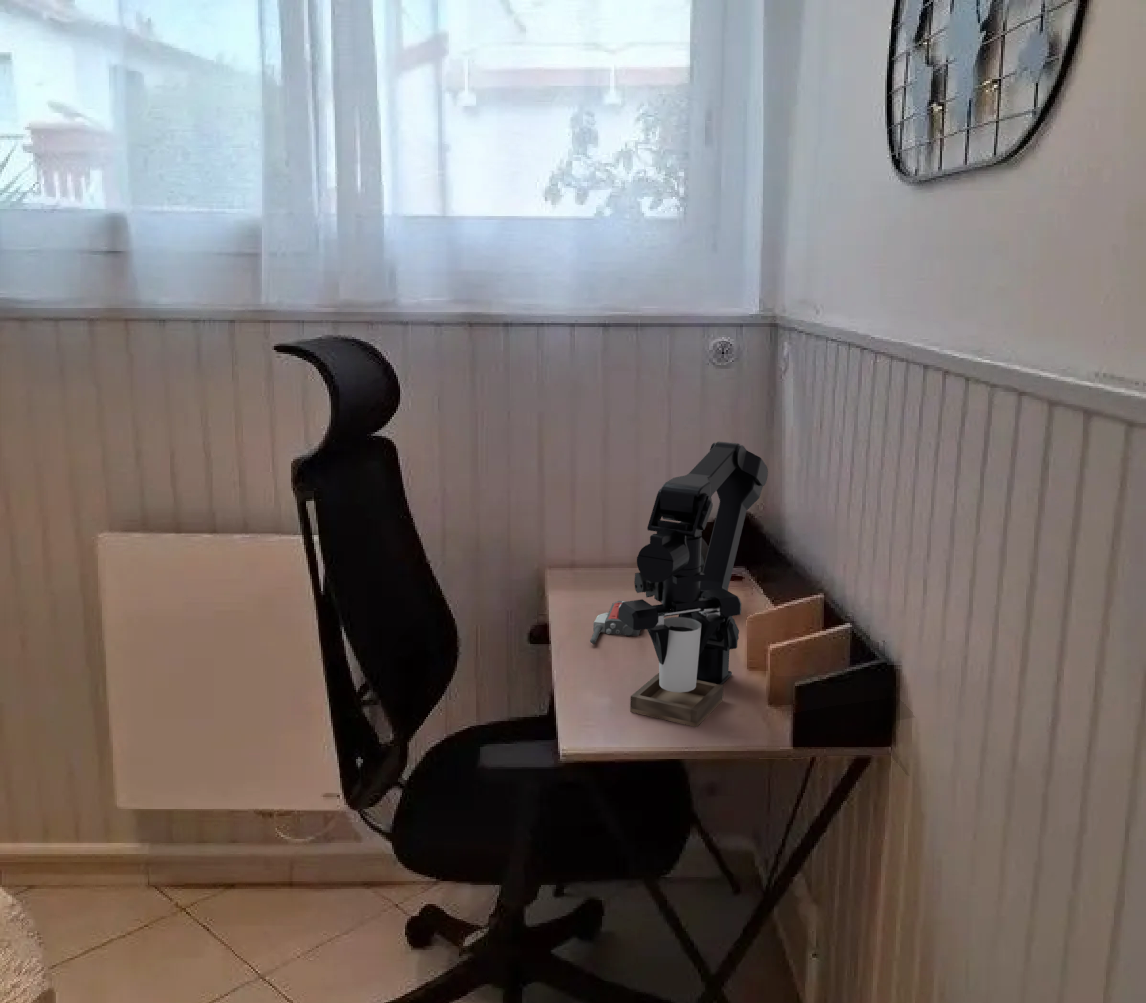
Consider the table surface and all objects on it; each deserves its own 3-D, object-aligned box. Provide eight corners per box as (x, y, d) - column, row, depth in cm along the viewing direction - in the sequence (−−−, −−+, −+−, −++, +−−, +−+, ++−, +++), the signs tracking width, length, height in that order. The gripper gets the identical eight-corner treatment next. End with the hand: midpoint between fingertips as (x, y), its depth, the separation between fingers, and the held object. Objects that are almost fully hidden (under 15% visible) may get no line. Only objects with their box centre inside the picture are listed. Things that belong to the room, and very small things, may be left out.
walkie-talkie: (602, 612, 208) (586, 648, 189) (603, 591, 207) (586, 625, 188) (646, 615, 207) (634, 652, 188) (647, 594, 206) (635, 629, 186)
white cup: (659, 694, 160) (661, 632, 158) (653, 676, 167) (655, 617, 164) (702, 693, 161) (705, 631, 158) (694, 676, 167) (697, 616, 165)
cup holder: (722, 700, 167) (723, 685, 166) (696, 727, 157) (697, 711, 157) (659, 686, 172) (659, 672, 171) (630, 711, 162) (630, 696, 162)
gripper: (707, 544, 170) (704, 635, 174) (603, 557, 163) (602, 651, 166) (745, 563, 160) (740, 659, 164) (636, 577, 153) (633, 677, 156)
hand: (678, 660), depth 163 cm, fingers closed on white cup, 6 cm apart
